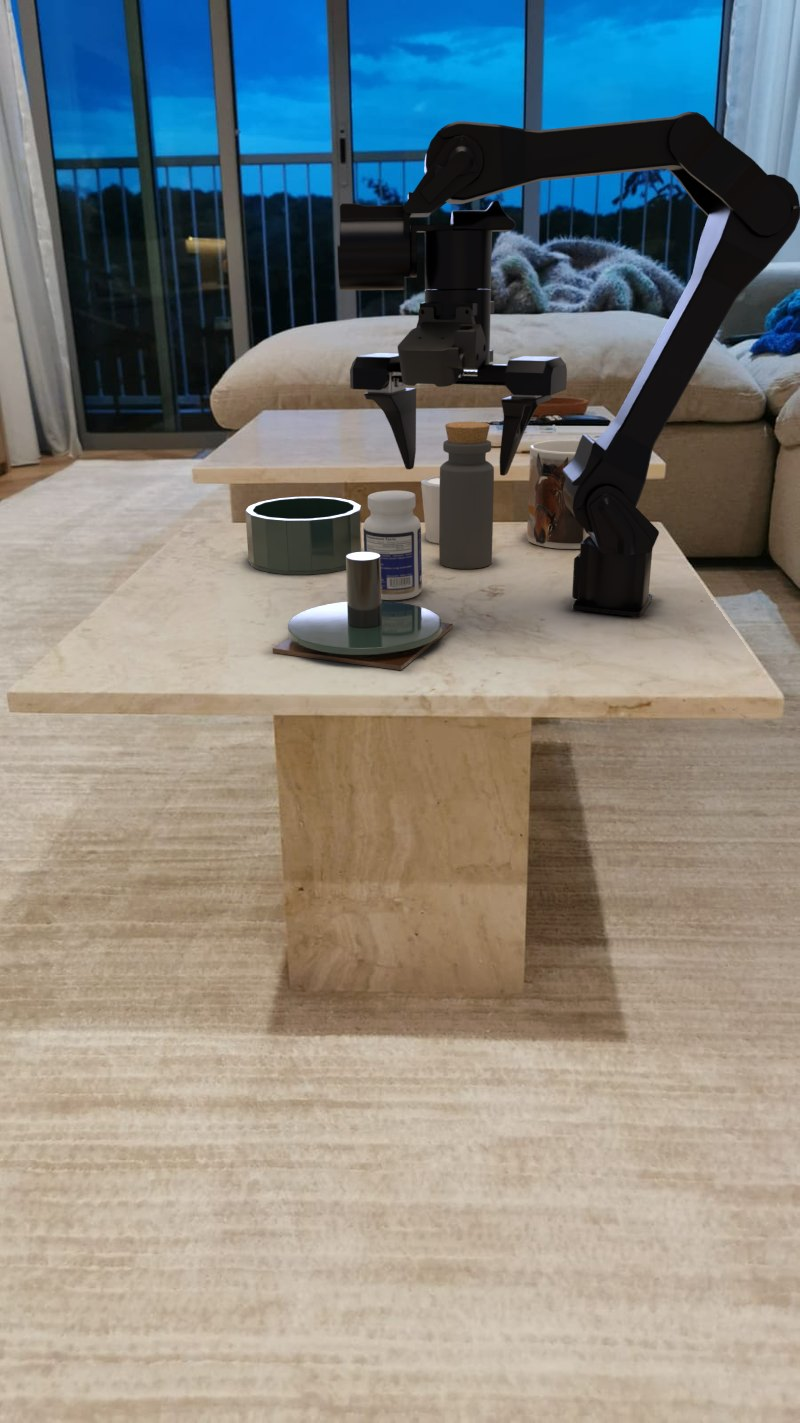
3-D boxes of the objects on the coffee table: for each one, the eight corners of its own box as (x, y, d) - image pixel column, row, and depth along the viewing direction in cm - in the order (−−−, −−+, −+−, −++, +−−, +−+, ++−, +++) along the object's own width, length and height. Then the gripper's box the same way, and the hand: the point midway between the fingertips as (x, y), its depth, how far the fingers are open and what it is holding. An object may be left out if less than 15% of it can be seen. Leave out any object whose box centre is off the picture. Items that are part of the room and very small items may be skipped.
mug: (593, 527, 134) (599, 437, 130) (637, 550, 123) (645, 452, 119) (514, 533, 132) (517, 441, 127) (552, 557, 121) (557, 457, 117)
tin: (379, 551, 124) (378, 501, 122) (331, 579, 113) (329, 524, 111) (283, 542, 129) (281, 493, 126) (228, 568, 118) (224, 515, 116)
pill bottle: (384, 582, 112) (382, 487, 108) (432, 590, 109) (432, 492, 105) (354, 596, 107) (351, 497, 104) (403, 604, 105) (402, 502, 101)
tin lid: (393, 604, 103) (393, 530, 101) (472, 643, 92) (473, 562, 90) (263, 628, 97) (258, 550, 94) (330, 672, 86) (327, 586, 83)
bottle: (493, 569, 116) (496, 427, 111) (439, 569, 117) (440, 428, 111) (490, 555, 122) (493, 420, 116) (438, 556, 122) (439, 420, 116)
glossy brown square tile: (452, 627, 98) (452, 623, 98) (401, 670, 88) (401, 666, 87) (334, 613, 102) (334, 609, 102) (272, 652, 92) (272, 648, 92)
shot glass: (474, 531, 133) (475, 474, 130) (481, 544, 127) (482, 485, 124) (418, 532, 133) (418, 475, 130) (423, 546, 126) (423, 486, 124)
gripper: (318, 291, 89) (325, 480, 95) (535, 291, 82) (528, 495, 88) (374, 289, 99) (377, 460, 105) (572, 288, 92) (563, 472, 98)
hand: (455, 471), depth 99 cm, fingers open, 9 cm apart
